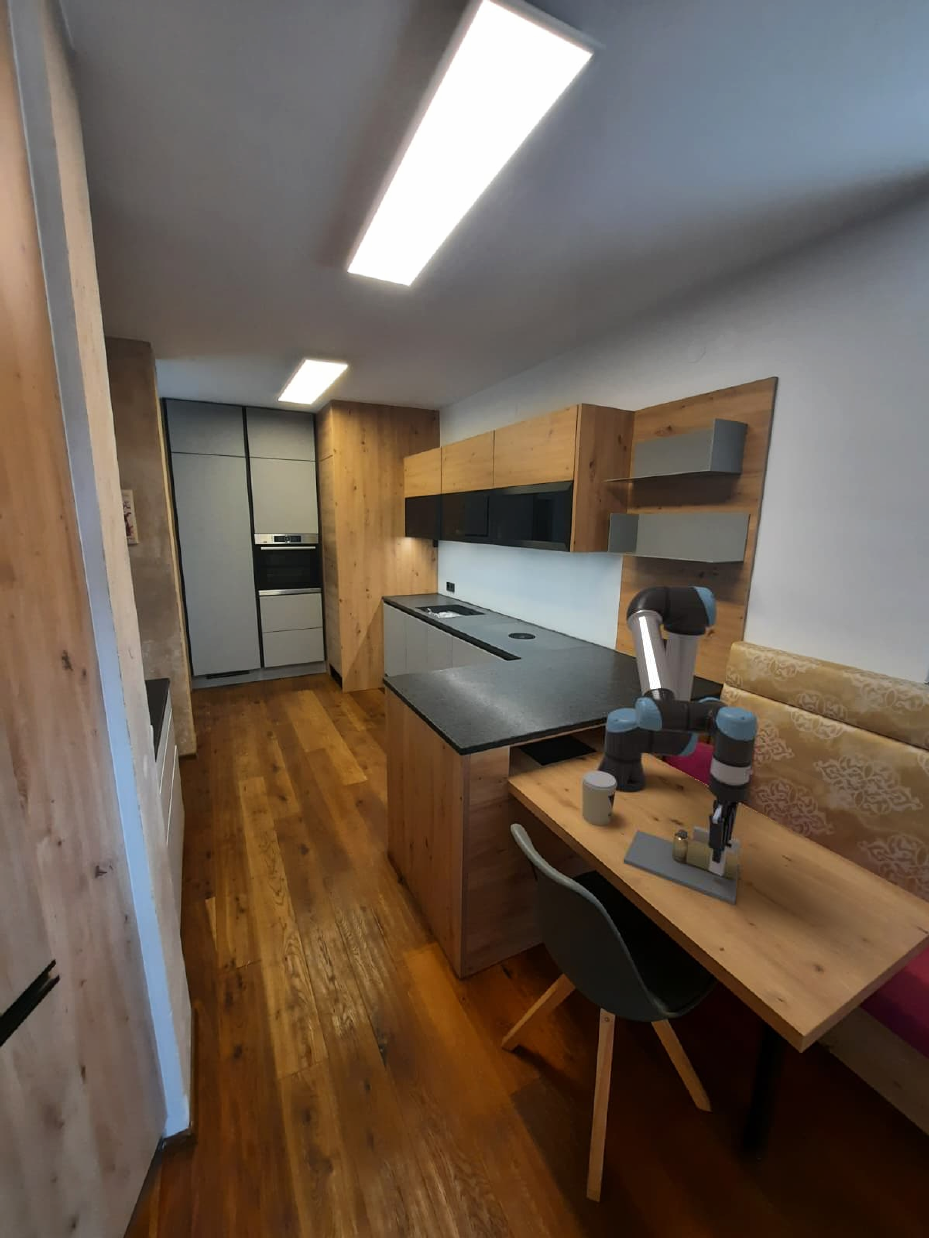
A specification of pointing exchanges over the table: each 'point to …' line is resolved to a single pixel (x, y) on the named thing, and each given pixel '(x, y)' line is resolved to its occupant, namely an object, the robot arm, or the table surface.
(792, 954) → the table surface
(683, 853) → the swing bar
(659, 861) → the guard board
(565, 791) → the table surface
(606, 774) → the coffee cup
